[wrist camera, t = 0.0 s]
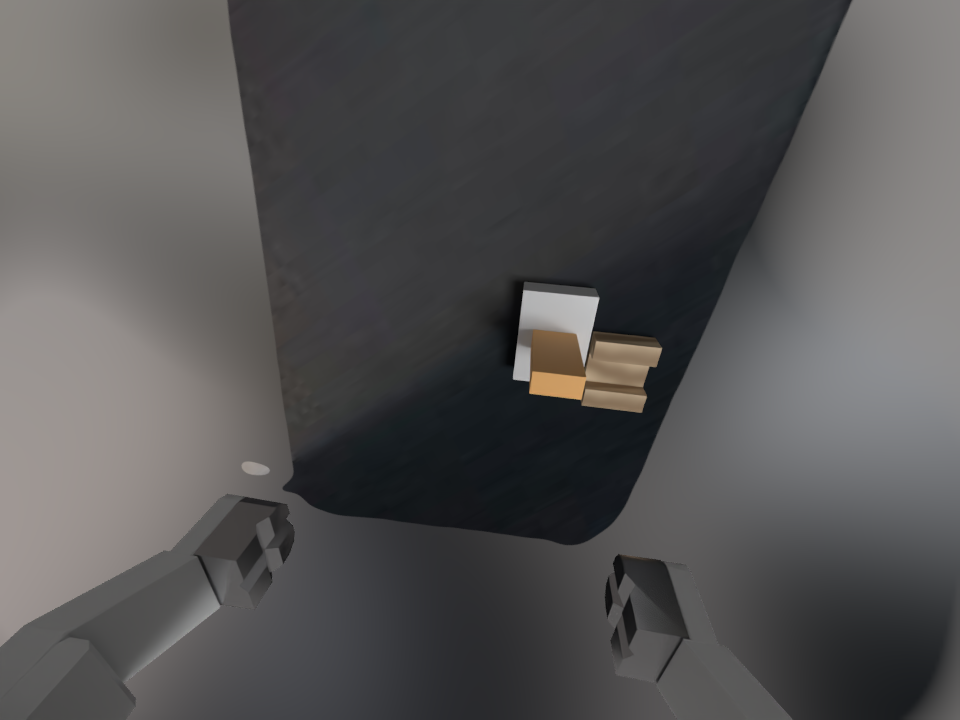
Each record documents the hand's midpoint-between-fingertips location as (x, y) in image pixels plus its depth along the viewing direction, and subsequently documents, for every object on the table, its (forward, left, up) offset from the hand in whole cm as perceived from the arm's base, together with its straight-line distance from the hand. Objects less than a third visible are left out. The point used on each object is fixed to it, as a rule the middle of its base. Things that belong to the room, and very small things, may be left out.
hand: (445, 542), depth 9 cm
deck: (+14, +6, -48) cm, 51 cm away
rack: (+19, +17, -48) cm, 54 cm away
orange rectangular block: (+14, +6, -44) cm, 47 cm away
